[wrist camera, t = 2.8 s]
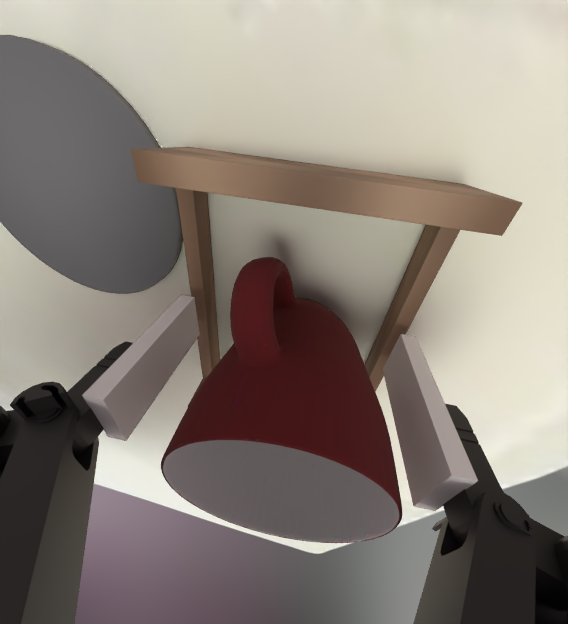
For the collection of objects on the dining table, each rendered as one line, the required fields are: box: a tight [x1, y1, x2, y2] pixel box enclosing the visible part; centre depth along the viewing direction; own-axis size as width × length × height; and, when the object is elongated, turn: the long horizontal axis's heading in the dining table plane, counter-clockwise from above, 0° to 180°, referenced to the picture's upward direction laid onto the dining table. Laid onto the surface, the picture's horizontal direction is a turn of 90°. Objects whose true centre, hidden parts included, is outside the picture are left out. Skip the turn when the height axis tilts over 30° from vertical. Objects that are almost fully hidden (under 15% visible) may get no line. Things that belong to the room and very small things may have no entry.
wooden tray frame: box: [131, 147, 522, 407], centre depth 14 cm, size 13×16×4 cm
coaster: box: [0, 35, 183, 294], centre depth 13 cm, size 12×12×1 cm
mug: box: [161, 257, 402, 543], centre depth 12 cm, size 11×8×10 cm
